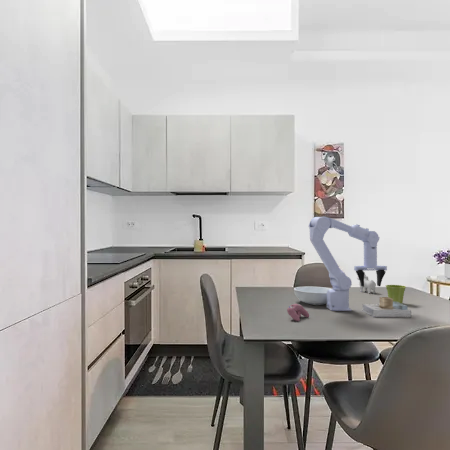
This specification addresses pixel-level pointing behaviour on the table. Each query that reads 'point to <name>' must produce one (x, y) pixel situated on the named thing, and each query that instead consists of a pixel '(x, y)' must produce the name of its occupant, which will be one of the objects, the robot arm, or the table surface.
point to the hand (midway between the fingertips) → (370, 286)
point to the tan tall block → (386, 302)
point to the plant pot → (396, 292)
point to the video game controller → (297, 311)
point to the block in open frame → (387, 310)
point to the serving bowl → (312, 294)
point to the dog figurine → (367, 284)
